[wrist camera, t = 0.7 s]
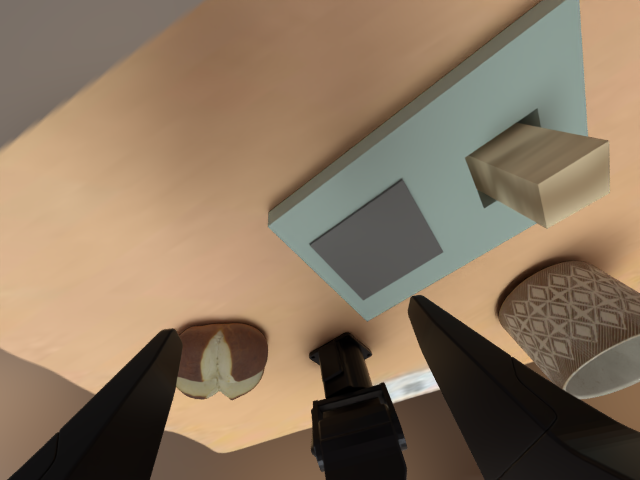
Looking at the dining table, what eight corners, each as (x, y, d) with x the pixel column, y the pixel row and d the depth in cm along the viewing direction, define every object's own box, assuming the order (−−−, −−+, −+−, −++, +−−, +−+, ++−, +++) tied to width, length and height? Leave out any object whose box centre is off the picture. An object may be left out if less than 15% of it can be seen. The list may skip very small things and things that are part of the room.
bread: (275, 321, 30) (275, 359, 26) (258, 375, 36) (256, 415, 32) (171, 311, 27) (152, 354, 23) (170, 373, 33) (155, 416, 28)
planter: (518, 334, 39) (586, 407, 31) (475, 306, 34) (543, 385, 25) (600, 280, 35) (707, 348, 26) (565, 238, 29) (686, 306, 21)
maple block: (512, 158, 23) (609, 192, 16) (471, 185, 24) (547, 228, 17) (502, 120, 21) (609, 140, 14) (458, 151, 22) (538, 184, 15)
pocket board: (565, 181, 25) (594, 192, 23) (360, 304, 30) (367, 323, 28) (541, 0, 17) (583, -11, 15) (268, 212, 22) (267, 228, 20)
